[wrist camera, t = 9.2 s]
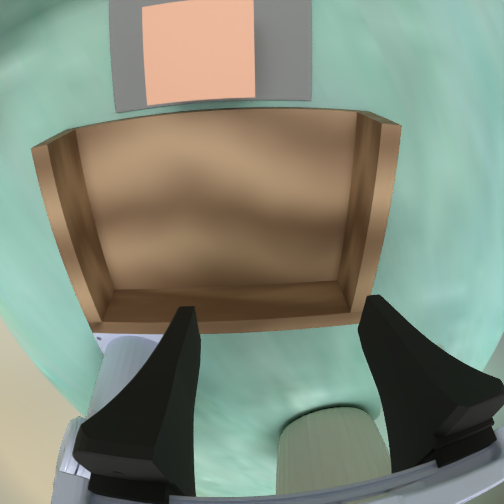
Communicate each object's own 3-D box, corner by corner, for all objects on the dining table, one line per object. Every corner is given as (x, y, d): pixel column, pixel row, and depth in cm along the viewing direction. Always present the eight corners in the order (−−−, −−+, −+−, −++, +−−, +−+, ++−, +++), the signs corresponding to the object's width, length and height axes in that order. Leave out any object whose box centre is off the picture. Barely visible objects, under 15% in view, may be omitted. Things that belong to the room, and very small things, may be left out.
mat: (310, 100, 18) (311, 100, 18) (117, 112, 17) (115, 113, 17) (308, -44, 12) (309, -46, 12) (111, -29, 12) (109, -30, 12)
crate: (346, 284, 26) (362, 322, 22) (108, 294, 25) (92, 332, 21) (369, 111, 18) (401, 125, 14) (65, 129, 18) (31, 148, 14)
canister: (404, 405, 40) (442, 525, 22) (317, 453, 47) (334, 558, 29) (334, 375, 33) (375, 553, 15) (234, 433, 40) (240, 570, 22)
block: (248, 88, 17) (255, 97, 12) (172, 93, 17) (147, 105, 12) (247, 18, 15) (253, -4, 10) (169, 24, 14) (141, 7, 9)
